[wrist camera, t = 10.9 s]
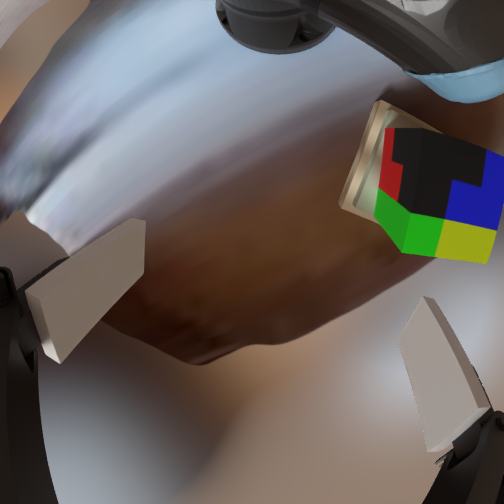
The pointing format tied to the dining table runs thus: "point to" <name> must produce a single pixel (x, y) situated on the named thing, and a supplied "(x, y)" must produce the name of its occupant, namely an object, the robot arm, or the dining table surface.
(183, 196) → the dining table surface
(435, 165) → the puzzle toy
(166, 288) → the dining table surface
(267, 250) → the dining table surface
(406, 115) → the plinth
